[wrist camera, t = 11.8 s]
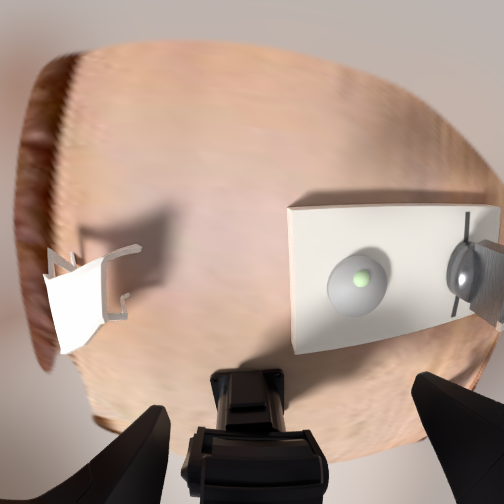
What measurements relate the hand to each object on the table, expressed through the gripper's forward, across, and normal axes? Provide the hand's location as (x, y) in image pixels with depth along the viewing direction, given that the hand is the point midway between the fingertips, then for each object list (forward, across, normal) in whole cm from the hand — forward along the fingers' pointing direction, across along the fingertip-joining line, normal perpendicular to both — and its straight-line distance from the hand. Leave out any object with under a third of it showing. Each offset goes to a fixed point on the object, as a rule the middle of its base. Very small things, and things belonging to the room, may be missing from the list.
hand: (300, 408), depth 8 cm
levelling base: (+13, -13, 0) cm, 18 cm away
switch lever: (+11, -18, 0) cm, 21 cm away
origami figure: (+13, +14, 0) cm, 20 cm away
